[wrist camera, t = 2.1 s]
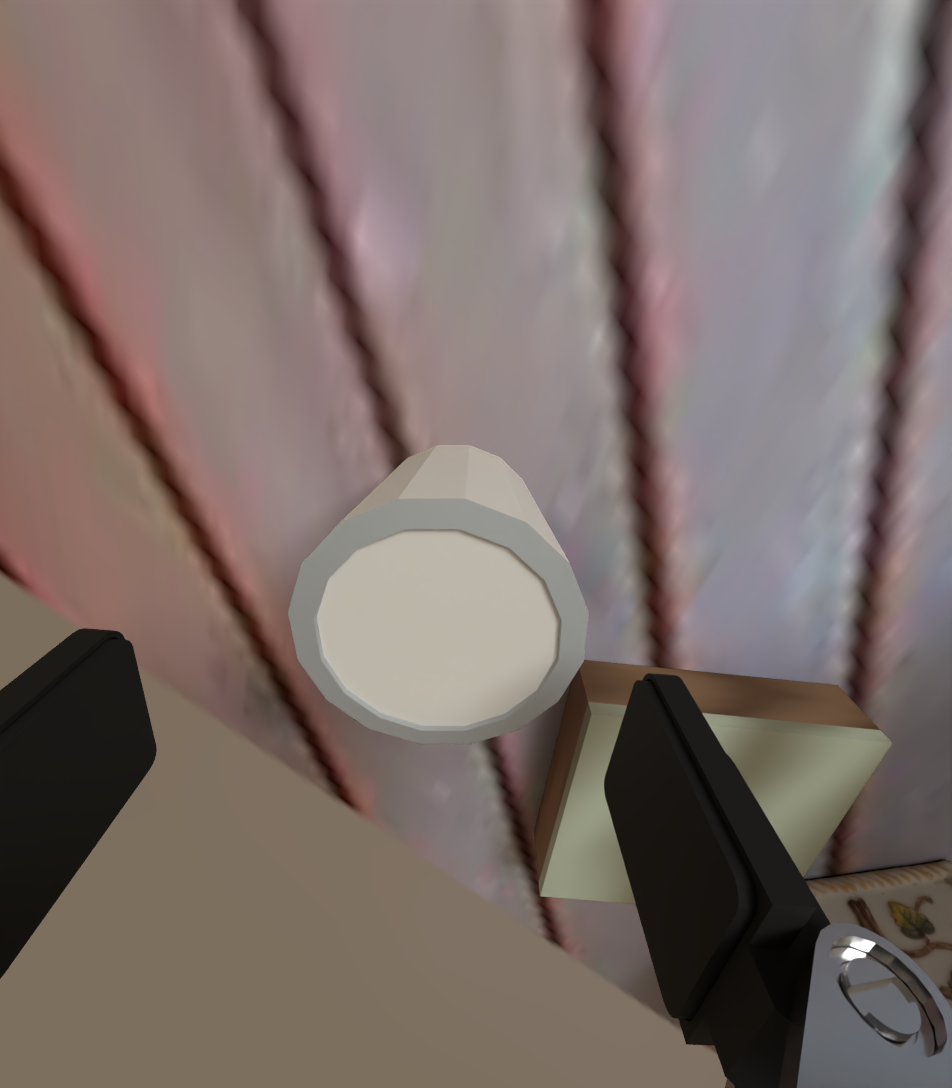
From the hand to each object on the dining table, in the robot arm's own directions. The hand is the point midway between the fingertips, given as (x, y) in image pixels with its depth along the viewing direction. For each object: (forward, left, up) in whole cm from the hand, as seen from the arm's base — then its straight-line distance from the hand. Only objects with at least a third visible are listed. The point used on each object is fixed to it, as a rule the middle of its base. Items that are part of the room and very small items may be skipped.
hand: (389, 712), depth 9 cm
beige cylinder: (-1, 0, -9) cm, 9 cm away
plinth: (-12, +11, -9) cm, 18 cm away
